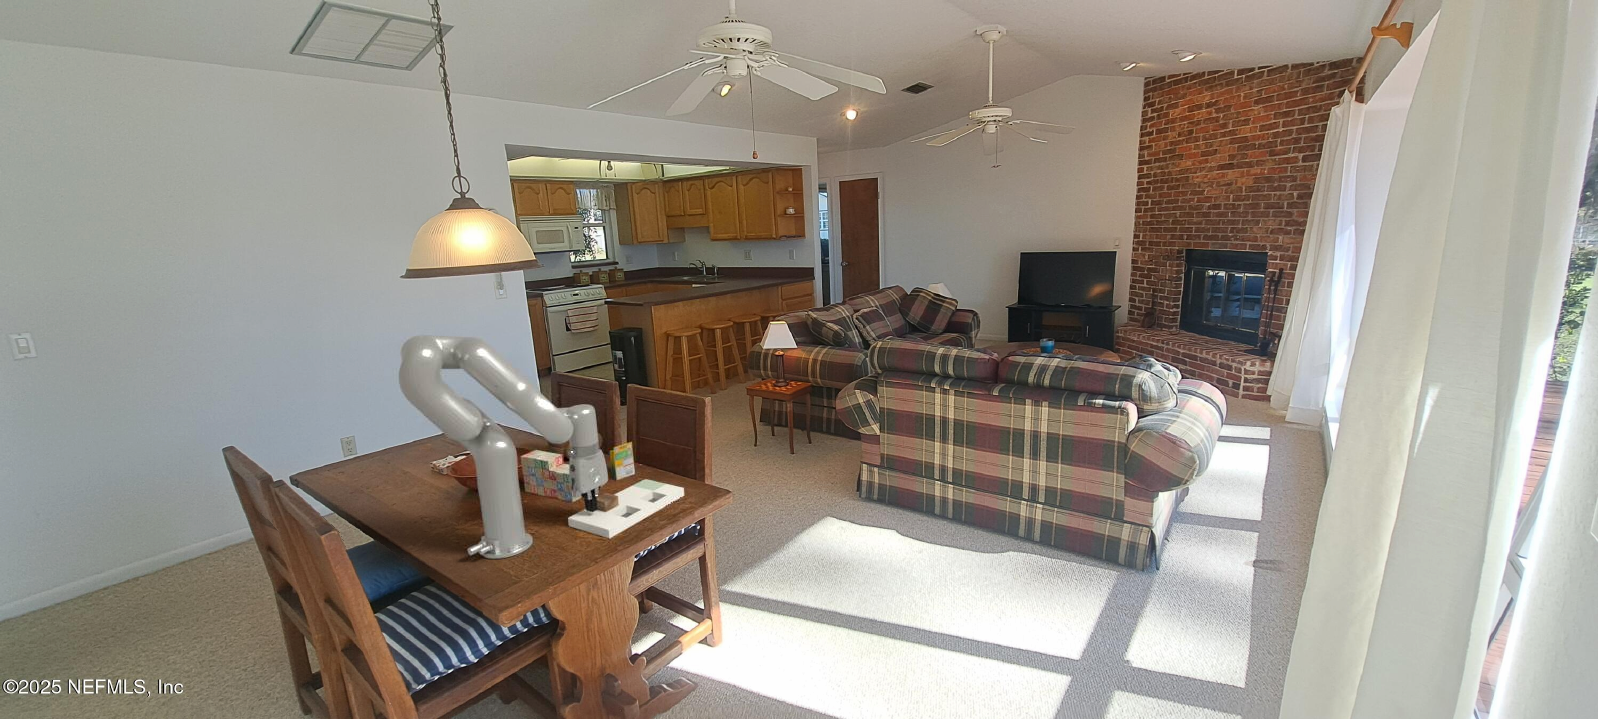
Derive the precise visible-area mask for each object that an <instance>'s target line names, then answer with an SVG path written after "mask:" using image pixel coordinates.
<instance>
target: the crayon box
mask: <svg viewBox="0 0 1598 719" xmlns="http://www.w3.org/2000/svg"><path fill="white" fill-rule="evenodd" d="M609 459H610V469H611V470H610V471H611V478H612V480H614V479H615V481H620V480H622V479H624V478H625V479H626V478H627V477H630V476H632V475H633V476H634V475H635V474H636V473H635V460H634V451H633V442H632V441H631V442H630V441H629V442H627V443H624V444H621V445H617V446H614V447H613V450H610V451H609Z"/></svg>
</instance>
